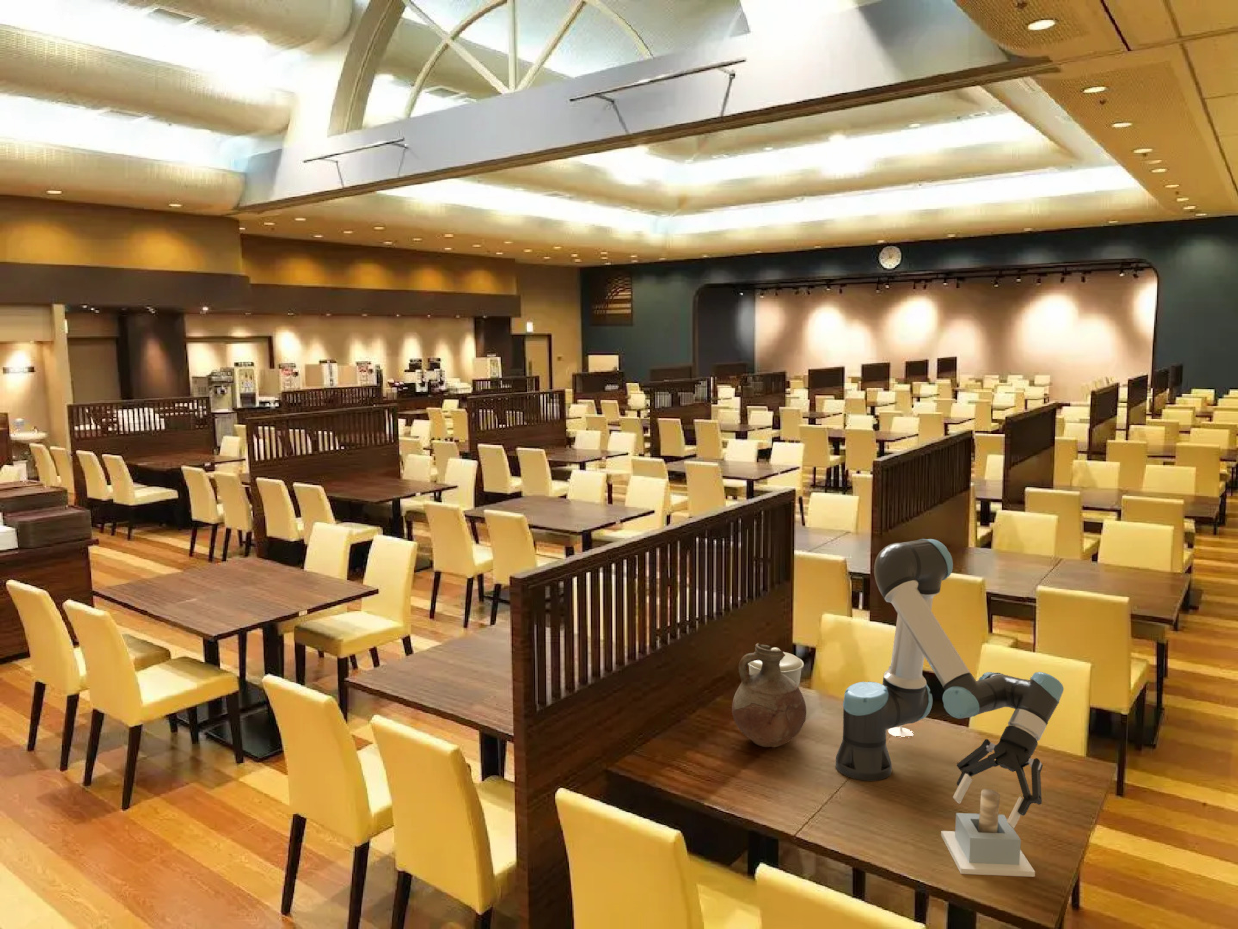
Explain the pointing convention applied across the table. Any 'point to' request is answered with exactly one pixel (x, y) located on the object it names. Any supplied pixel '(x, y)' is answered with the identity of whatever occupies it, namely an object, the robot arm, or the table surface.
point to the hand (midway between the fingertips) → (982, 813)
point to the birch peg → (989, 811)
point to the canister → (782, 666)
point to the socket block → (986, 848)
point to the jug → (768, 701)
